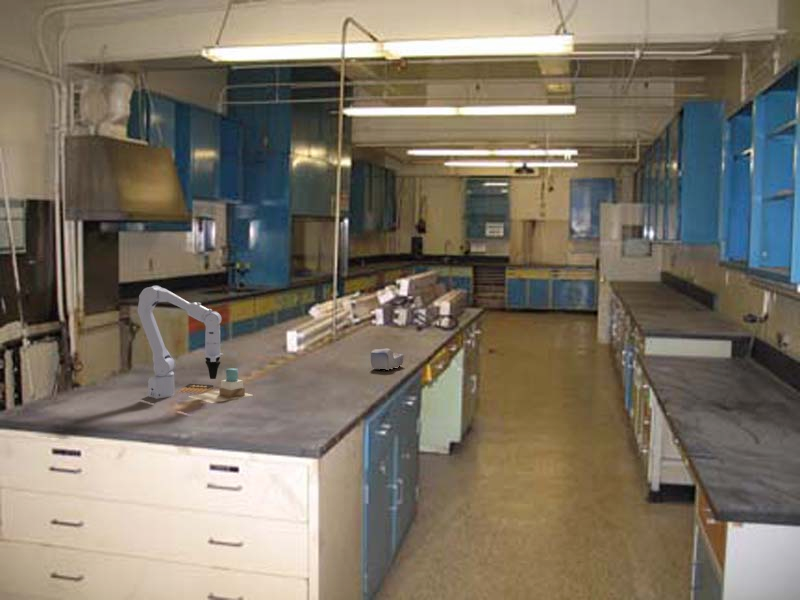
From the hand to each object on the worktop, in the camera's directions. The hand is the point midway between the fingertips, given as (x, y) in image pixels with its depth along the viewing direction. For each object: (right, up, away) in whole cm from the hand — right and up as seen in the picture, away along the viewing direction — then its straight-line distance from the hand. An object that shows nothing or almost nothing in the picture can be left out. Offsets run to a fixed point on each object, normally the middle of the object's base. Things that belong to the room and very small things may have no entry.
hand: (212, 376), depth 299 cm
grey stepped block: (+67, -4, +73) cm, 99 cm away
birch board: (+3, -8, +2) cm, 9 cm away
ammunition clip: (-9, -6, +16) cm, 19 cm away
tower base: (+7, -8, +3) cm, 11 cm away
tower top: (+7, -5, +2) cm, 9 cm away
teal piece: (+7, -2, +2) cm, 8 cm away
